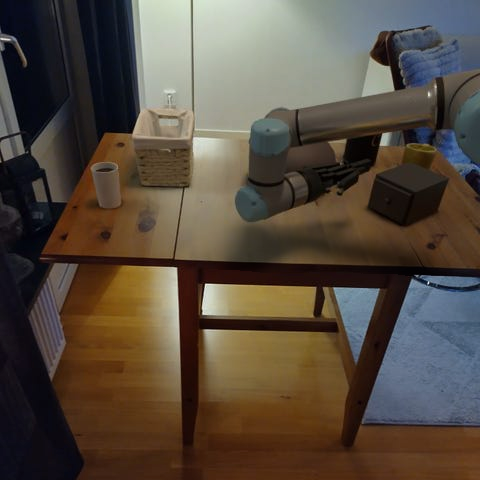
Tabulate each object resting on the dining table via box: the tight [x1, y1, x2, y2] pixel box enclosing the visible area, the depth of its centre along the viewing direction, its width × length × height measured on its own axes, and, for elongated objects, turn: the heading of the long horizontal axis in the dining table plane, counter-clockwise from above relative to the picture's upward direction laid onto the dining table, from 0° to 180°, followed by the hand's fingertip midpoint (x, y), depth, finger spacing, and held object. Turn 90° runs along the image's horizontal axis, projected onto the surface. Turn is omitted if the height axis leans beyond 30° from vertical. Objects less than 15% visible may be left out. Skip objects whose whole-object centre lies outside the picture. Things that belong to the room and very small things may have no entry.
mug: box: [401, 142, 437, 171], centre depth 145 cm, size 12×10×10 cm
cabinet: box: [367, 162, 450, 227], centre depth 124 cm, size 15×13×10 cm
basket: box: [131, 108, 195, 188], centre depth 135 cm, size 24×16×15 cm
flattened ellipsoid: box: [285, 142, 337, 174], centre depth 132 cm, size 25×25×15 cm
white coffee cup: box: [90, 161, 122, 210], centre depth 120 cm, size 7×7×10 cm
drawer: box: [367, 178, 412, 224], centre depth 123 cm, size 15×11×8 cm
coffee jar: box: [343, 133, 384, 167], centre depth 145 cm, size 11×11×18 cm
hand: (368, 164), depth 113 cm, fingers closed
